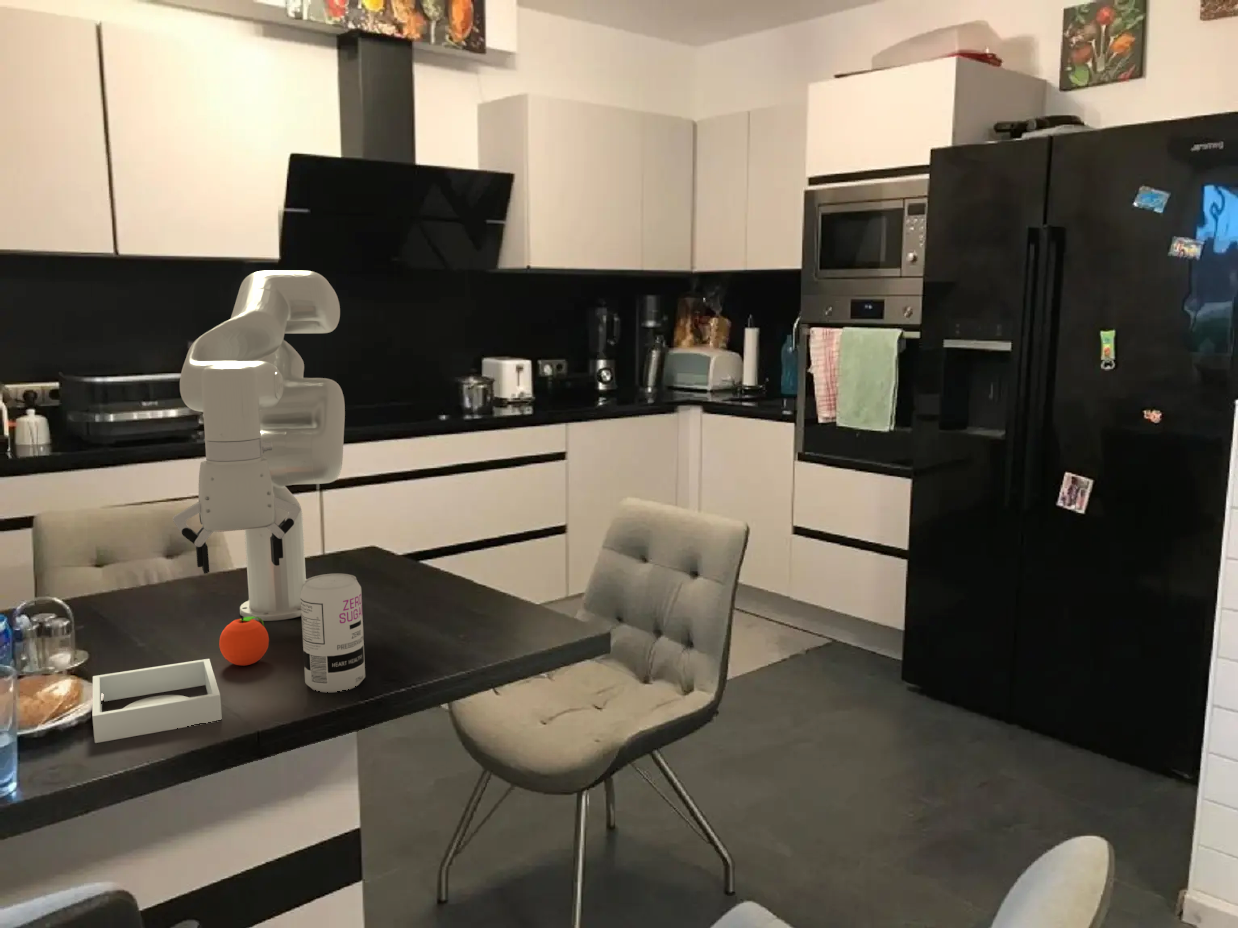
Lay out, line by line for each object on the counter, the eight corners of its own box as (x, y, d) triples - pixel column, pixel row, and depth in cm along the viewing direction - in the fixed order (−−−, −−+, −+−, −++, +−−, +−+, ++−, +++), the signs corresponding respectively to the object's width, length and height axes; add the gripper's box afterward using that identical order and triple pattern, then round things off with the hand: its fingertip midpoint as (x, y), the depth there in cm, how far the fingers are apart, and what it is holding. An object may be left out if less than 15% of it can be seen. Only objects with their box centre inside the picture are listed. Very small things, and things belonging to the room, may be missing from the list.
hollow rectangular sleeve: (210, 682, 144) (209, 658, 143) (221, 720, 131) (220, 694, 130) (95, 700, 137) (92, 676, 137) (94, 742, 124) (92, 716, 124)
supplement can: (312, 673, 147) (306, 573, 145) (369, 671, 148) (365, 571, 145) (299, 695, 139) (293, 589, 137) (360, 693, 140) (355, 588, 137)
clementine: (247, 651, 156) (244, 606, 155) (284, 656, 154) (282, 611, 153) (210, 669, 149) (206, 622, 148) (249, 675, 146) (246, 627, 145)
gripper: (292, 444, 153) (297, 555, 156) (166, 452, 145) (175, 568, 148) (300, 450, 146) (306, 566, 149) (169, 459, 139) (178, 580, 141)
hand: (241, 567), depth 148 cm, fingers open, 9 cm apart
